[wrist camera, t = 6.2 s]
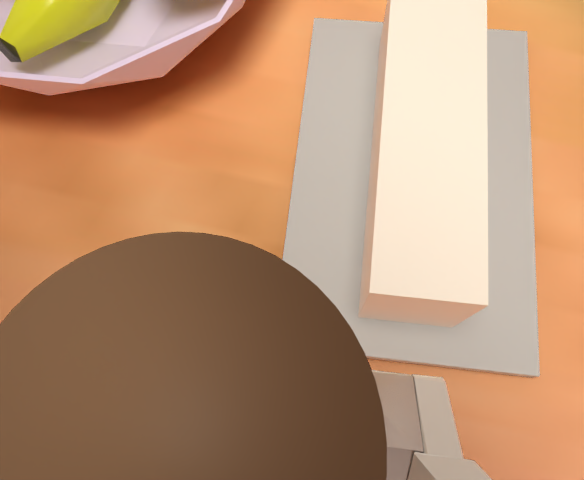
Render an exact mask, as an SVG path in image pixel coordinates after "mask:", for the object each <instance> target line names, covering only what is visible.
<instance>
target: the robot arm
mask: <svg viewBox="0 0 584 480" xmlns="http://www.w3.org/2000/svg"><path fill="white" fill-rule="evenodd" d="M372 373H373V375H374V378H375V380H376V384H377V388H378V392H379V396H380V400H381V404H382V408H383V414H384V423H385V431H386V439H387V477H386V480H492V479H491V478H490V477H489V476H488V474H487V473H486V472H485V471H484V470H483V469H482V468H481V467H480V466H479V465H478V464H477V463H476V462H475V461H474V460H468V459H464V457H463V452H462V448H461V444H460V440H459V435H458V431H457V427H456V423H455V418H454V414H453V410H452V406H451V401H450V397H449V393H448V389H447V384H446V381H445V380H444V379H443V378H442V377H435V376H425V375H415V374H412V375H409V374H401V373H392V372H384V371H376V370H372Z"/></svg>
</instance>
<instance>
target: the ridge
mask: <svg viewBox="0 0 584 480" xmlns="http://www.w3.org/2000/svg"><path fill="white" fill-rule="evenodd" d="M283 261H285V262H286V263H288V264H289V265H291V266H293V267H294V268H296V269H297V270H298V271H300V272H301V273H302V274H303V275H304V276H306V277H307V278H308V279H309V280H311V281H312V282H313V283H314V284H315V285H317V286H318V287H319V289H320V290H321V291H322V292H323V293H324V294H325V295H326V296H327V297H328V298H329V299H330V300H331V301H332V303H333V304H334V305H335V306H336V307H337V309H338V310H339V311H340V313H341V314H342V316H343V317H344V318H345V320H346V321H347V323H348V324H349V325H350V327H351V328H352V330H353V332H354V334H355V336H356V337H357V339H358V341H359V343H360V345H361V347H362V349H363V350H364V352H365V355H366V357H367V358H370V359H378V360H387V361H395V362H404V363H412V364H420V365H429V366H437V367H446V368H454V369H463V370H471V371H480V372H488V373H497V374H505V375H514V376H522V377H531V378H532V377H539V376H540V371H539V344H538V316H537V289H536V262H535V235H534V207H533V180H532V153H531V126H530V98H529V71H528V44H527V31H511V30H496V29H487V0H387V6H386V11H385V17H384V22H370V21H354V20H339V19H323V18H314V25H313V33H312V40H311V48H310V55H309V63H308V71H307V78H306V86H305V93H304V101H303V109H302V116H301V124H300V131H299V139H298V146H297V154H296V162H295V169H294V177H293V184H292V192H291V200H290V207H289V215H288V222H287V230H286V237H285V245H284V253H283Z"/></svg>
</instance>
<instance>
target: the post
mask: <svg viewBox="0 0 584 480" xmlns="http://www.w3.org/2000/svg"><path fill="white" fill-rule="evenodd" d="M386 477H387V439H386V431H385V423H384V414H383V408H382V404H381V400H380V396H379V392H378V388H377V384H376V380H375V378H374V375H373V373H372V370H371V368H370V365H369V362H368V360H367V357H366V355H365V352H364V350H363V349H362V347H361V345H360V343H359V341H358V339H357V337H356V336H355V334H354V332H353V330H352V328H351V327H350V325H349V324H348V323H347V321H346V320H345V318H344V317H343V316H342V314H341V313H340V311H339V310H338V309H337V307H336V306H335V305H334V304H333V303H332V301H331V300H330V299H329V298H328V297H327V296H326V295H325V294H324V293H323V292H322V291H321V290H320V289H319V287H318V286H317V285H315V284H314V283H313V282H312V281H311V280H309V279H308V278H307V277H306V276H304V275H303V274H302V273H301V272H300V271H298V270H297V269H296V268H294V267H293V266H291V265H289V264H288V263H286V262H285V261H283V260H281V259H280V258H278V257H277V256H275V255H273V254H271V253H269V252H266V251H264V250H262V249H260V248H258V247H256V246H253V245H251V244H248V243H245V242H241V241H238V240H235V239H232V238H228V237H223V236H217V235H212V234H206V233H193V232H169V233H156V234H149V235H144V236H139V237H134V238H129V239H125V240H122V241H119V242H116V243H113V244H110V245H107V246H104V247H102V248H99V249H97V250H95V251H93V252H91V253H89V254H86V255H84V256H82V257H80V258H78V259H76V260H75V261H73V262H71V263H70V264H68V265H66V266H65V267H63V268H62V269H60V270H58V271H57V272H55V273H54V274H52V275H51V276H50V277H48V278H47V279H46V280H45V281H43V282H42V283H41V284H39V285H38V286H37V287H36V288H34V289H33V290H32V291H31V292H30V293H29V294H28V295H27V296H26V297H25V298H24V299H23V300H22V301H21V302H20V303H18V304H17V305H16V306H15V307H14V308H13V309H12V310H11V312H10V313H9V314H8V315H7V317H6V318H5V319H4V320H3V321H2V323H1V324H0V480H386Z"/></svg>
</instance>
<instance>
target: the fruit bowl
mask: <svg viewBox="0 0 584 480" xmlns="http://www.w3.org/2000/svg"><path fill="white" fill-rule="evenodd" d="M245 1H246V0H0V85H4V86H8V87H13V88H17V89H22V90H27V91H31V92H36V93H40V94H45V95H49V96H50V95H56V94H62V93H68V92H74V91H80V90H86V89H92V88H98V87H105V86H111V85H117V84H123V83H129V82H135V81H141V80H147V79H153V78H159V77H163V76H164V75H166V74H167V73H168V72H169V71H170V70H171V69H172V68H174V67H175V66H176V65H177V64H178V63H179V62H180V61H182V60H183V59H184V58H185V57H186V56H187V55H189V54H190V53H191V52H192V51H193V50H194V49H195V48H197V47H198V46H199V45H200V44H201V43H202V42H203V41H205V40H206V39H207V38H208V37H209V36H210V35H211V34H213V33H214V32H215V31H216V30H217V29H218V28H219V27H221V26H222V25H223V24H224V23H225V22H226V21H228V20H229V19H230V18H231V17H232V16H233V15H234V14H236V13H237V12H238V11H239V10H240V9H241V8H242V7H243V5H244V3H245Z"/></svg>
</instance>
